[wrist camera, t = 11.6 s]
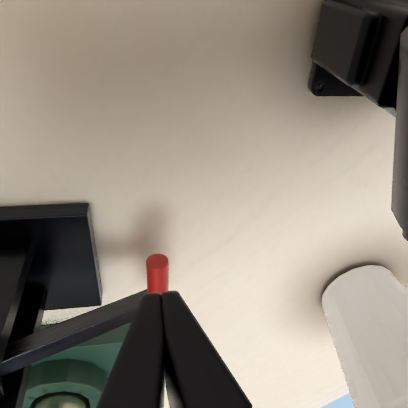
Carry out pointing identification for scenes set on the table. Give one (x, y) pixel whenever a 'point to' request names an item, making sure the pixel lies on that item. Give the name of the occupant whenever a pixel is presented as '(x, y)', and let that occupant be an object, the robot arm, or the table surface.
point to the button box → (76, 368)
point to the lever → (82, 324)
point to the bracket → (42, 275)
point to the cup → (370, 335)
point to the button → (61, 400)
